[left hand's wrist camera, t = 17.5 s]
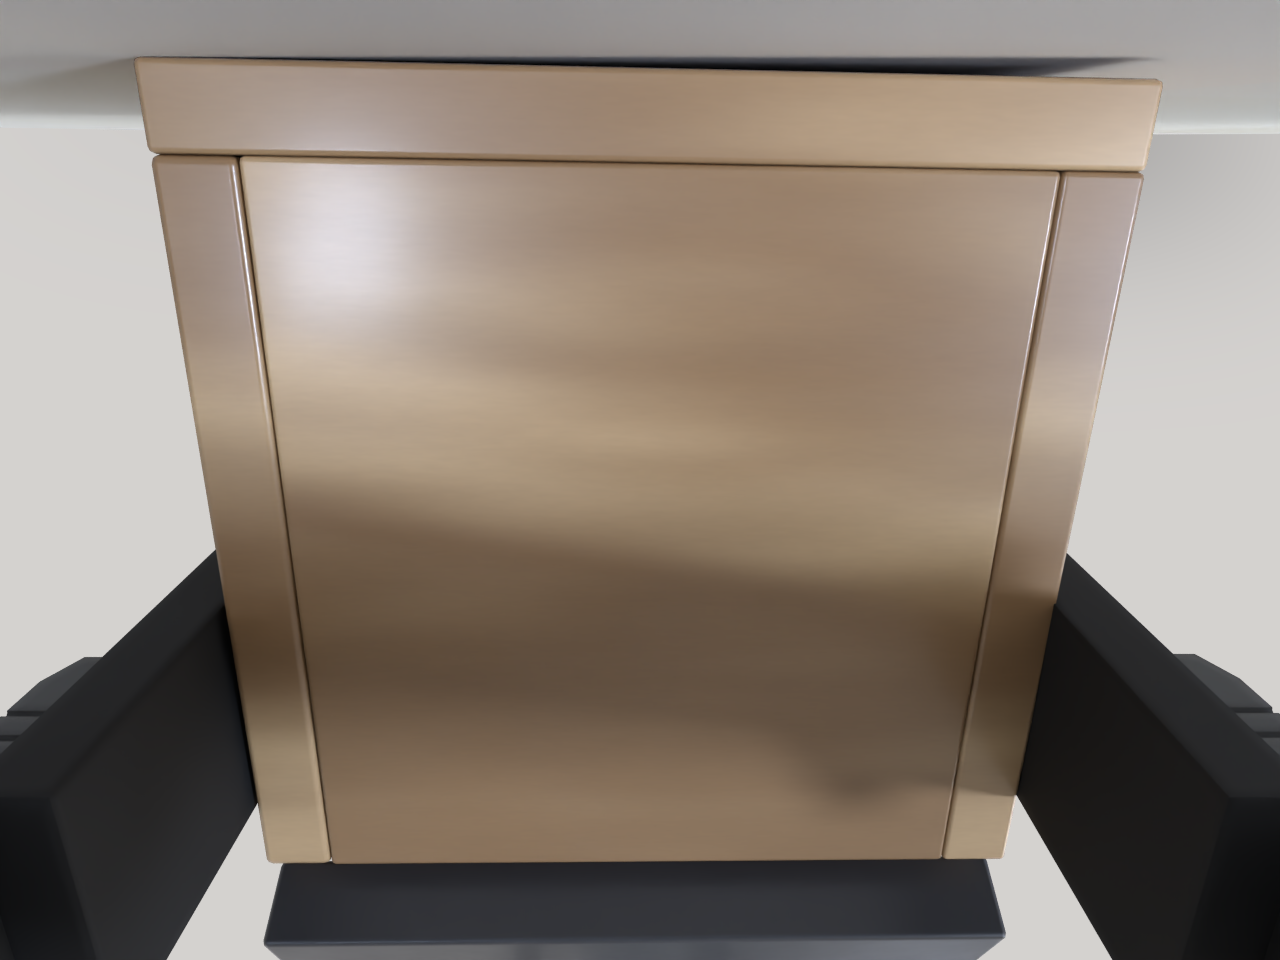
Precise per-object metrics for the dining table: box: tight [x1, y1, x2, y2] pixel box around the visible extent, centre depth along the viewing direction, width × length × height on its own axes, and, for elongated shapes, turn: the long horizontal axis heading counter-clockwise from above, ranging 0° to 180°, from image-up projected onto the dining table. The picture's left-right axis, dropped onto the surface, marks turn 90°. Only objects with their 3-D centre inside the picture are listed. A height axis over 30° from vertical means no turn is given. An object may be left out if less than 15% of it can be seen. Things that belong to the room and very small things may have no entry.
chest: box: [134, 57, 1163, 864], centre depth 17 cm, size 16×9×9 cm, turn 178°
